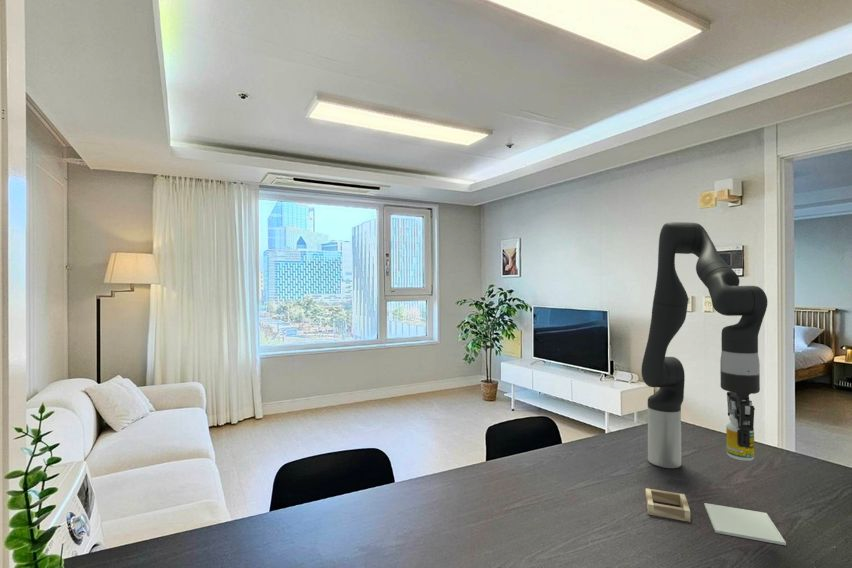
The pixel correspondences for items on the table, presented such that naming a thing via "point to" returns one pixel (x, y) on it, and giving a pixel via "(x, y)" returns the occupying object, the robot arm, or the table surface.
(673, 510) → the collar
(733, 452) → the supplement bottle
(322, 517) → the table surface
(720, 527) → the coaster plate
